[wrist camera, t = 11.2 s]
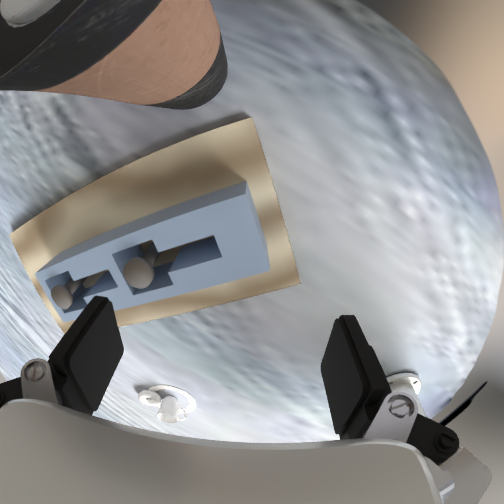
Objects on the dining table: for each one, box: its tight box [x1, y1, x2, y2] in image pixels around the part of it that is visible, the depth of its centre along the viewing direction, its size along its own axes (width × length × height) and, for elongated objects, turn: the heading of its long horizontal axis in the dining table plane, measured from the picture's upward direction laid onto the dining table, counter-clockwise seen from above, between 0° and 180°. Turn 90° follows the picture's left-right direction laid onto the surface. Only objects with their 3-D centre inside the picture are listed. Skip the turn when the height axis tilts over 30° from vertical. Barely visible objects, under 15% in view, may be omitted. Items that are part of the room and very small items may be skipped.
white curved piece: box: [138, 385, 196, 423], centre depth 36 cm, size 9×8×4 cm
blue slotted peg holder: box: [35, 181, 270, 322], centre depth 23 cm, size 6×22×5 cm, turn 107°
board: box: [9, 117, 301, 334], centre depth 23 cm, size 16×32×7 cm, turn 107°
